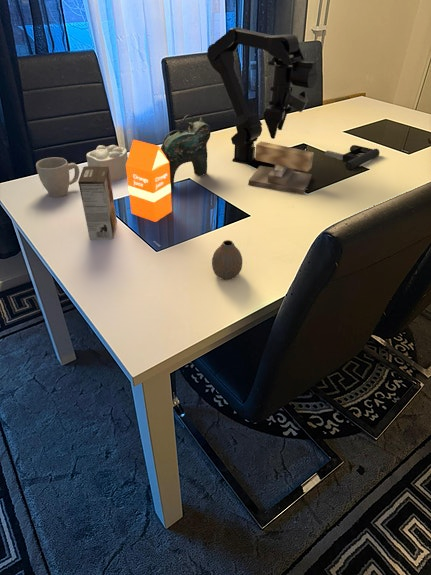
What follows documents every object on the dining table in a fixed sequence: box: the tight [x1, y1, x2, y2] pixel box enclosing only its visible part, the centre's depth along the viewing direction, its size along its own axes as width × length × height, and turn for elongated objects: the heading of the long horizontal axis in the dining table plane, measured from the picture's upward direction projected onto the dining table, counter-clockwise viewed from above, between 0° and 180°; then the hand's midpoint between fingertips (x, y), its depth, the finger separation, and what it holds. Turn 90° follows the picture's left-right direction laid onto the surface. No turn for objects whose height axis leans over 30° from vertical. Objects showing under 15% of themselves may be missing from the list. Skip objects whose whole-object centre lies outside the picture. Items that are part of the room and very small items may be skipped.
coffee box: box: [77, 165, 118, 240], centre depth 106 cm, size 9×6×16 cm
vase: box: [211, 239, 243, 281], centre depth 94 cm, size 7×7×9 cm
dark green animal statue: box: [160, 114, 211, 188], centre depth 131 cm, size 20×6×20 cm, turn 135°
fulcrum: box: [247, 164, 313, 195], centre depth 135 cm, size 18×13×6 cm
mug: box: [35, 156, 81, 198], centre depth 125 cm, size 12×9×10 cm
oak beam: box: [254, 140, 315, 173], centre depth 132 cm, size 18×4×5 cm, turn 60°
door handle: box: [324, 144, 380, 170], centre depth 154 cm, size 3×20×16 cm
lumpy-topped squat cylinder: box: [85, 144, 128, 182], centre depth 137 cm, size 10×13×9 cm
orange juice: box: [126, 139, 173, 223], centre depth 113 cm, size 8×9×20 cm
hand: (276, 134), depth 138 cm, fingers open, 9 cm apart
